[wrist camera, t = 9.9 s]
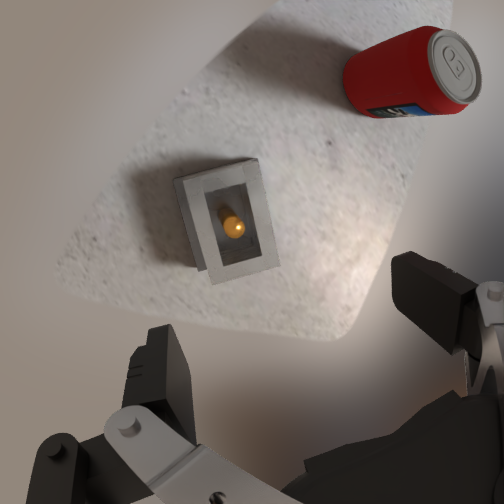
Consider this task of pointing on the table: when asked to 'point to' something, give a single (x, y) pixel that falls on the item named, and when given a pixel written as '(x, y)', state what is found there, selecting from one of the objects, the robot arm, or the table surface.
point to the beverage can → (414, 75)
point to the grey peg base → (217, 217)
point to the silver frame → (258, 216)
